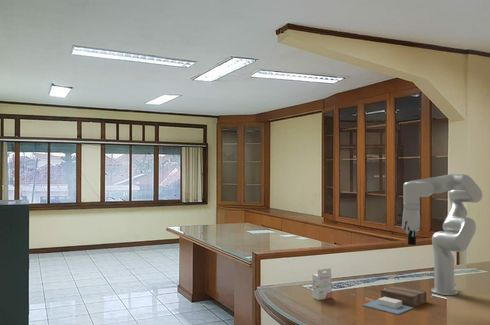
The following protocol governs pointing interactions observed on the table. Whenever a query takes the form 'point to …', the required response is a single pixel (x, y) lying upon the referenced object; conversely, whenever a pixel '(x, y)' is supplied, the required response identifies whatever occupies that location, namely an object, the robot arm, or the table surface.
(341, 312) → the table surface
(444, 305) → the table surface
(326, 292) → the ink cartridge box
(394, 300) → the block
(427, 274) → the table surface
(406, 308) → the mat
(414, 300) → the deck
